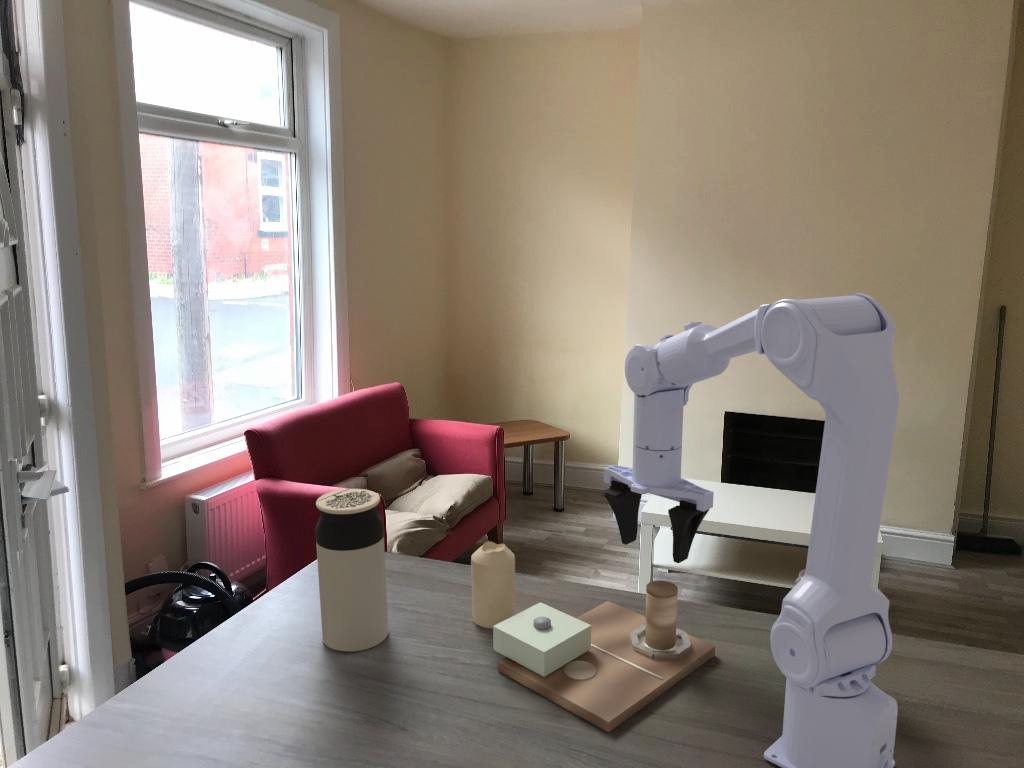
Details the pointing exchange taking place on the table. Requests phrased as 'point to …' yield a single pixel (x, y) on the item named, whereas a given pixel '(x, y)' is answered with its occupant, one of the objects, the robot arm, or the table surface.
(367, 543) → the travel mug
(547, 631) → the cover
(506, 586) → the candle
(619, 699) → the board
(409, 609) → the table surface
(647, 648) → the socket ring
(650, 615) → the peg
